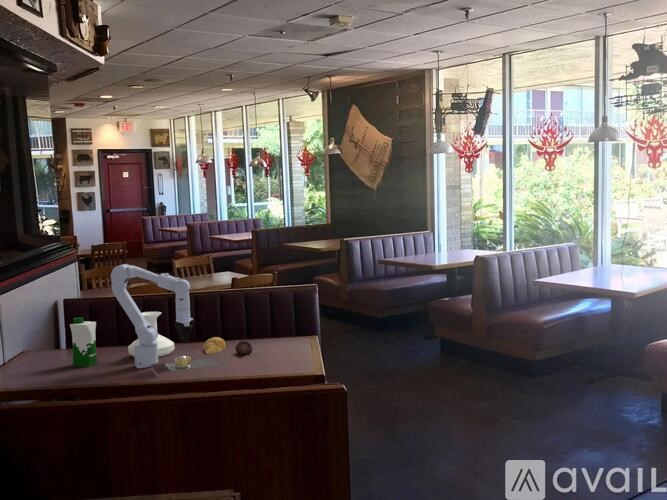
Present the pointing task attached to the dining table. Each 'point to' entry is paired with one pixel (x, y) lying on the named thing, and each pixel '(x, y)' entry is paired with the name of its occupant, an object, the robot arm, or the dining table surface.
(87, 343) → the milk carton
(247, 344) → the icecream
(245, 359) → the dining table surface
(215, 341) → the croissant
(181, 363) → the ring
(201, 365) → the block
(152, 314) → the candle holder
